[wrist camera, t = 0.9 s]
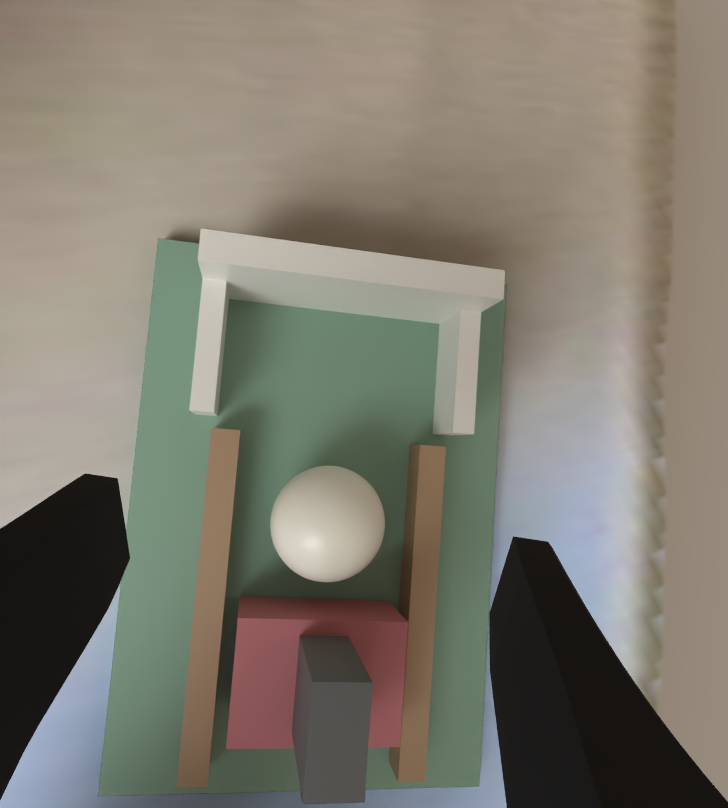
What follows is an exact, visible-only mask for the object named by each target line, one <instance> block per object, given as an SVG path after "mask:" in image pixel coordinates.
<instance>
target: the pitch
mask: <svg viewBox="0 0 728 808" xmlns="http://www.w3.org/2000/svg"><path fill="white" fill-rule="evenodd" d="M198 251H199V243H191V242H183V241H176V240H168V239H161V238H158V244H157V253H156V262H155V272H154V281H153V290H152V299H151V309H150V318H149V327H148V337H147V346H146V355H145V364H144V374H143V383H142V392H141V402H140V411H139V420H138V430H137V439H136V448H135V457H134V467H133V476H132V485H131V495H130V504H129V513H128V522H127V532H126V535H127V541H128V547H129V553H130V560H129V562H128V565H127V567H126V570H125V572H124V574H123V577H122V579H121V587H120V597H119V606H118V615H117V625H116V634H115V643H114V653H113V662H112V671H111V680H110V690H109V699H108V708H107V718H106V727H105V736H104V745H103V755H102V764H101V773H100V783H99V792H98V796H129V795H168V794H206V793H244V792H283V791H301V790H300V783H299V777H298V770H297V764H296V757H295V750H294V748H284V749H226V746H227V733H228V720H229V707H230V696H231V685H232V674H233V663H234V651H235V640H236V629H237V618H238V607H239V596H268V597H300V598H331V599H363V600H388V601H389V602H390V603H391V604H392V605H393V606H394V607H395V608H396V609H397V611H398V612H399V613H400V614H401V615H402V616H403V617H404V618H405V619H406V620H407V621H408V634H407V649H406V664H405V679H404V695H403V710H402V725H401V740H400V747H368V758H367V772H366V786H365V789H397V788H436V787H474V786H479V782H480V764H481V745H482V727H483V708H484V690H485V672H486V653H487V635H488V617H489V598H490V580H491V561H492V543H493V525H494V506H495V488H496V470H497V451H498V433H499V414H500V396H501V378H502V359H503V341H504V322H505V304H506V286H507V284H504V299H503V300H501V301H500V302H498V303H496V304H495V305H493V306H491V307H490V308H488V309H486V310H485V311H483V312H481V324H480V341H479V359H478V376H477V393H476V410H475V427H474V434H470V435H455V436H448V435H436V434H432V432H433V417H434V401H435V386H436V370H437V355H438V339H439V324H437V323H428V322H420V321H411V320H403V319H394V318H386V317H377V316H369V315H360V314H352V313H343V312H335V311H326V310H318V309H309V308H301V307H292V306H284V305H275V304H267V303H259V302H250V301H242V300H233V299H229V304H228V314H227V325H226V335H225V345H224V356H223V366H222V377H221V387H220V397H219V408H218V416H209V415H197V414H194V413H193V412H191V411H190V410H189V408H190V398H191V388H192V378H193V368H194V358H195V348H196V338H197V328H198V318H199V308H200V298H201V288H202V275H201V271H200V267H199V264H198ZM318 466H339V467H343V468H346V469H349V470H351V471H353V472H355V473H357V474H359V475H360V476H361V477H363V478H364V479H365V480H366V481H367V482H368V483H369V484H370V485H371V486H372V487H373V488H374V490H375V491H376V493H377V495H378V496H379V498H380V501H381V503H382V507H383V511H384V517H385V530H384V536H383V540H382V543H381V546H380V548H379V550H378V552H377V554H376V556H375V557H374V558H373V560H372V561H371V562H370V563H369V564H368V565H367V566H366V567H365V568H364V569H363V570H362V571H360V572H359V573H357V574H356V575H354V576H352V577H350V578H348V579H344V580H341V581H336V582H318V581H313V580H309V579H307V578H304V577H302V576H300V575H298V574H297V573H295V572H294V571H293V570H291V569H290V568H289V567H288V566H287V565H286V564H285V563H284V562H283V560H282V559H281V558H280V556H279V555H278V553H277V551H276V549H275V546H274V544H273V541H272V537H271V530H270V519H271V513H272V509H273V505H274V503H275V500H276V498H277V496H278V495H279V493H280V491H281V490H282V489H283V487H284V486H285V485H286V484H287V483H288V482H289V481H290V480H291V479H292V478H294V477H295V476H296V475H298V474H300V473H301V472H303V471H305V470H308V469H310V468H314V467H318Z"/></svg>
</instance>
